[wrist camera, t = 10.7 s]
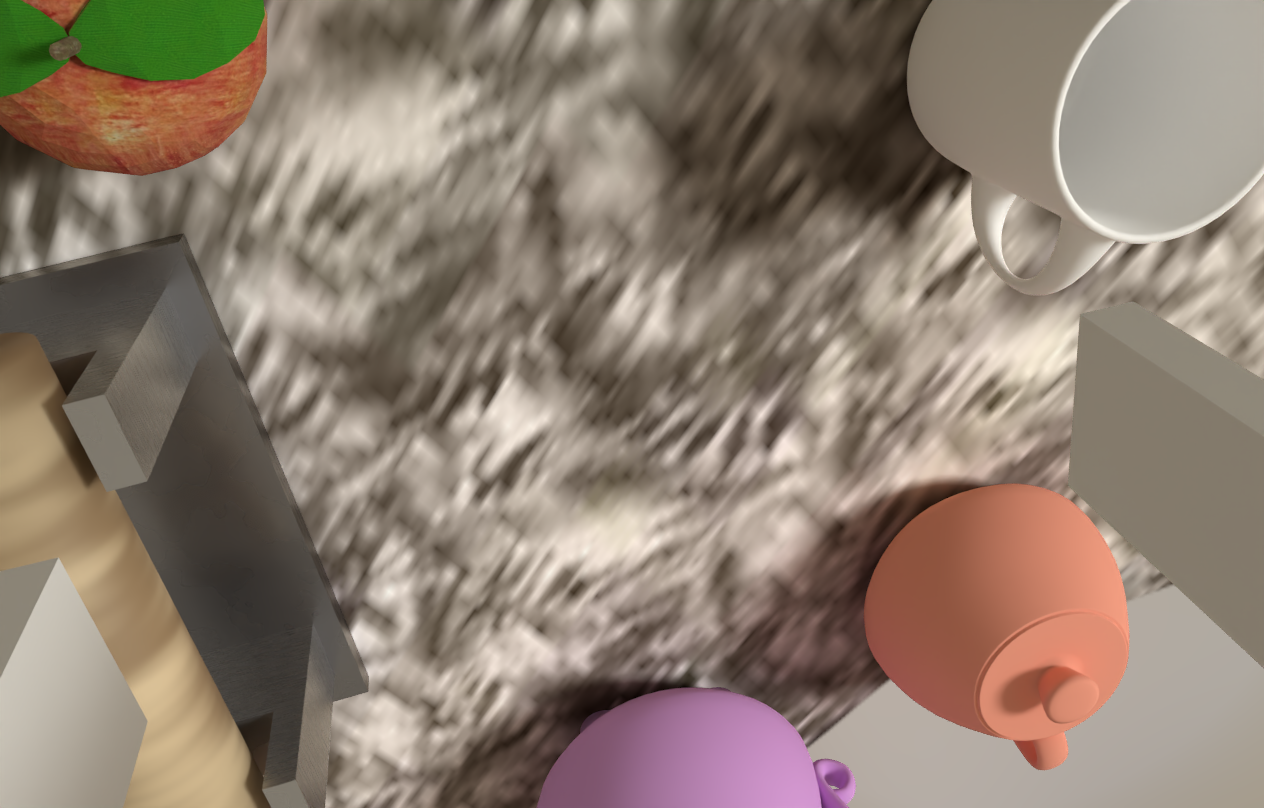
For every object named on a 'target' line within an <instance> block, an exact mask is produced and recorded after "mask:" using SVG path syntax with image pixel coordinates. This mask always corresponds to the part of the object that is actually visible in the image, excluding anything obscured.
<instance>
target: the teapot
mask: <svg viewBox="0 0 1264 808" xmlns="http://www.w3.org/2000/svg"><path fill="white" fill-rule="evenodd" d="M829 785H831V786H835V787H837V788H839V789H832V788H831V787H830V786H829ZM855 787H856V785H855V779H854V776H853V774H852V772H851V770H850V769H849V768H848V767H847V766H846V765H844V764H843V763H841V762H838V761H835V760H831V759H820V760H817V761H815V762H813V763H812V760H811V758H810V755H809V753H808V750H807V748H806V746H805V744H804V742H803V740H802V738H801V736H800V735H799V733H798V732H797V731H796V729H795V728H794V727H793V726H792V725H791V724H790V723H789V722H788V721H787V720H786V719H785V718H784V717H783V716H782V715H780V714H779V713H778V712H776V711H775V710H773V709H772V708H771V707H769V706H768V705H766V704H764V703H762V702H760V701H758V700H755V699H753V698H750V697H747V696H744V695H741V694H737V693H733V692H731V691H729V690H728V689H725V688H721V687H716V688H711V689H709V688H675V689H668V690H662V691H658V692H654V693H650V694H646V695H643V696H640V697H637V698H635V699H632V700H629V701H627V702H625V703H623V704H621V705H619V706H617V707H615V708H613V709H612V710H601V711H598V712H595V713H593V714H591V715H590V716H588V717H587V718H586V719H585V720H584V722H583V723H582V725H581V729H580V734H579V735H578V736H577V737H576V738H575V739H574V740H573V741H572V742H571V743H570V745H569V746H568V747H567V748H566V749H565V751H564V752H563V753H562V754H561V755H560V757H559V758H558V759H557V761H556V762H555V764H554V765H553V767H552V768H551V770H550V771H549V774H548V776H547V778H546V780H545V782H544V784H543V787H542V791H541V794H540V797H539V801H538V804H537V808H849V807H848V806H847V805H846V804H847V803H849V801H850V800H851V799H852V798H853V796H854V794H855Z"/></svg>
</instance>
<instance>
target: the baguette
mask: <svg viewBox="0 0 1264 808" xmlns="http://www.w3.org/2000/svg"><path fill="white" fill-rule="evenodd" d="M66 398H67V395H66V394H65V392H64V390H63V388H62V386H61V384H60V382H59V380H58V378H57V376H56V374H55V372H54V370H53V368H52V366H51V364H50V363H49V361H48V359H47V357H46V355H45V353H44V351H43V349H42V347H41V345H40V343H39V341H38V339H37V338H36V336H34V335H32V334H29V333H22V332H13V333H3V334H0V571H3V570H8V569H12V568H16V567H20V566H24V565H29V564H33V563H37V562H41V561H45V560H50V559H54V558H58V557H59V559H60V561H61V563H62V564H63V566H64V568H65V570H66V572H67V574H68V575H69V577H70V579H71V581H72V583H73V585H74V586H75V588H76V590H77V592H78V594H79V596H80V597H81V599H82V601H83V603H84V605H85V607H86V608H87V610H88V612H89V614H90V616H91V618H92V620H93V621H94V623H95V625H96V627H97V629H98V631H99V632H100V634H101V636H102V638H103V640H104V642H105V643H106V645H107V647H108V649H109V651H110V653H111V654H112V656H113V658H114V660H115V662H116V664H117V665H118V667H119V669H120V671H121V673H122V675H123V676H124V678H125V680H126V682H127V684H128V686H129V687H130V689H131V691H132V693H133V695H134V697H135V699H136V700H137V702H138V704H139V706H140V708H141V710H142V711H143V713H144V715H145V717H146V719H147V721H148V722H147V726H146V729H145V733H144V736H143V740H142V743H141V746H140V750H139V753H138V757H137V760H136V764H135V767H134V771H133V774H132V778H131V781H130V785H129V788H128V792H127V795H126V799H125V802H124V805H123V808H271V806H270V804H269V802H268V800H267V798H266V796H265V795H264V793H263V791H262V787H263V780H264V777H263V775H262V773H261V771H260V770H259V768H258V766H257V764H256V762H255V760H254V758H253V756H252V754H251V752H250V750H249V748H248V746H247V744H246V742H245V740H244V739H243V737H242V735H241V733H240V731H239V729H238V727H237V725H236V723H235V721H234V719H233V717H232V715H231V713H230V711H229V709H228V708H227V706H226V704H225V702H224V700H223V698H222V696H221V694H220V692H219V690H218V688H217V686H216V684H215V682H214V680H213V678H212V677H211V675H210V673H209V671H208V669H207V667H206V665H205V663H204V661H203V659H202V657H201V655H200V653H199V651H198V649H197V647H196V645H195V644H194V642H193V640H192V638H191V636H190V634H189V632H188V630H187V628H186V626H185V624H184V622H183V620H182V618H181V616H180V614H179V613H178V611H177V609H176V607H175V605H174V603H173V601H172V599H171V597H170V595H169V593H168V591H167V589H166V587H165V585H164V583H163V582H162V580H161V578H160V576H159V574H158V572H157V570H156V568H155V566H154V564H153V562H152V560H151V558H150V556H149V554H148V552H147V551H146V549H145V547H144V545H143V543H142V541H141V539H140V537H139V535H138V533H137V531H136V529H135V527H134V525H133V523H132V521H131V520H130V518H129V516H128V514H127V512H126V510H125V508H124V506H123V504H122V502H121V500H120V498H119V496H118V494H117V492H116V490H113V491H109V492H107V491H106V490H105V488H104V486H103V484H102V482H101V480H100V478H99V476H98V474H97V472H96V470H95V468H94V467H93V465H92V463H91V461H90V459H89V457H88V455H87V453H86V451H85V449H84V447H83V445H82V444H81V442H80V440H79V438H78V436H77V434H76V432H75V430H74V428H73V426H72V424H71V422H70V421H69V419H68V417H67V415H66V413H65V411H64V409H63V407H62V404H63V402H64V401H65V399H66Z"/></svg>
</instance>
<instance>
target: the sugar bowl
mask: <svg viewBox="0 0 1264 808" xmlns="http://www.w3.org/2000/svg"><path fill="white" fill-rule="evenodd" d="M864 622H865V632H866V637H867V641H868V644H869V648H870V650H871V652H872V654H873V656H874V658H875V659H876V661H877V662H878V663H879V665H880V666H881V668H882V669H883V670H884V672H885V673H886V675H887V676H888V677H889V678H890V679H891V680H892V681H893V682H894V683H895V684H896V685H897V686H898V687H899V688H900V689H901V690H902V691H903V692H904V693H905V694H907V695H908V696H909V697H910V698H911V699H913V700H914V701H915V702H917V703H918V704H919V705H921V706H923V707H924V708H926V709H927V710H929V711H931V712H933V713H934V714H935V715H937V716H939V717H942V718H944V719H946V720H948V721H951V722H953V723H955V724H957V725H960V726H963V727H966V728H968V729H972V730H974V731H978V732H981V733H984V734H987V735H991V736H995V737H999V738H1004V739H1009V740H1013V741H1014V742H1015V744H1016V745H1017V747H1018V748H1019V750H1020V751H1021V753H1022V754H1023V756H1024V757H1025V758H1026V760H1027V761H1028V762H1029V763H1030V764H1031V765H1032V766H1033V767H1034V768H1036V769H1038V770H1048V769H1052V768H1054V767H1057V766H1059V765H1060V764H1062V763H1063V762H1064V761H1065V759H1066V758H1067V755H1068V745H1067V741H1066V737H1065V734H1064V731H1067V730H1069V729H1071V728H1073V727H1075V726H1077V725H1078V724H1080V723H1081V722H1083V721H1085V720H1086V719H1087V718H1089V717H1090V716H1091V715H1093V714H1094V713H1095V712H1096V711H1097V710H1098V709H1100V708H1101V707H1102V706H1103V704H1104V703H1105V702H1106V701H1107V700H1108V699H1109V698H1110V697H1111V695H1112V694H1113V693H1114V691H1115V689H1116V688H1117V686H1118V684H1119V683H1120V681H1121V679H1122V677H1123V674H1124V672H1125V669H1126V666H1127V662H1128V654H1129V624H1128V614H1127V605H1126V597H1125V592H1124V587H1123V582H1122V579H1121V575H1120V572H1119V569H1118V567H1117V564H1116V561H1115V559H1114V557H1113V555H1112V553H1111V551H1110V549H1109V547H1108V545H1107V544H1106V542H1105V540H1104V538H1103V537H1102V535H1101V534H1100V532H1099V531H1098V529H1097V528H1096V527H1095V525H1094V524H1093V523H1092V521H1091V520H1090V519H1089V518H1088V517H1087V516H1086V515H1085V514H1084V513H1083V512H1082V511H1081V510H1080V509H1079V508H1078V507H1077V506H1076V505H1075V504H1074V503H1073V502H1072V501H1070V500H1069V499H1067V498H1065V497H1064V496H1062V495H1060V494H1058V493H1055V492H1053V491H1050V490H1048V489H1044V488H1041V487H1036V486H1032V485H1026V484H998V485H992V486H986V487H980V488H976V489H972V490H969V491H965V492H962V493H959V494H956V495H954V496H951V497H949V498H946V499H944V500H942V501H940V502H938V503H936V504H934V505H932V506H931V507H929V508H928V509H926V510H925V511H923V512H921V513H920V514H919V515H917V516H916V517H915V518H914V519H912V520H911V521H910V522H909V523H908V524H907V525H906V526H905V527H904V528H903V529H902V530H901V531H900V532H899V533H898V534H897V535H896V537H895V538H894V539H893V540H892V542H891V543H890V544H889V546H888V547H887V549H886V550H885V552H884V553H883V555H882V557H881V558H880V560H879V562H878V564H877V566H876V568H875V570H874V573H873V575H872V578H871V581H870V583H869V586H868V589H867V594H866V598H865V605H864Z"/></svg>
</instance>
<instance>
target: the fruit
mask: <svg viewBox="0 0 1264 808" xmlns="http://www.w3.org/2000/svg"><path fill="white" fill-rule="evenodd" d="M266 55H267V12H266V10H265V7H264V3H263V0H0V125H1V126H2V127H3V128H4V129H5V130H7V131H8V132H9V133H10V134H11V135H12V136H13V137H14V138H15V139H16V140H18V141H20V142H22V143H24V144H26V145H28V146H30V147H32V148H35V149H37V150H39V151H41V152H43V153H45V154H47V155H49V156H51V157H53V158H55V159H57V160H59V161H61V162H63V163H65V164H67V165H69V166H71V167H74V168H79V169H86V170H95V171H104V172H113V173H122V174H130V175H141V176H143V175H147V174H152V173H156V172H160V171H165V170H169V169H174V168H177V167H180V166H182V165H184V164H187V163H189V162H191V161H193V160H196V159H198V158H200V157H202V156H205V155H206V154H208V153H209V152H211V151H212V150H214V149H215V148H217V147H218V146H219V145H220V144H221V143H222V142H224V141H225V140H226V139H227V138H228V137H229V136H230V135H231V134H232V133H233V132H234V131H235V130H236V129H237V128H238V127H239V126H240V125H241V124H242V123H243V122H244V121H245V119H246V117H247V115H248V113H249V110H250V108H251V106H252V104H253V101H254V99H255V97H256V95H257V92H258V90H259V88H260V86H261V83H262V81H263V79H264V77H265V74H266Z"/></svg>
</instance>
